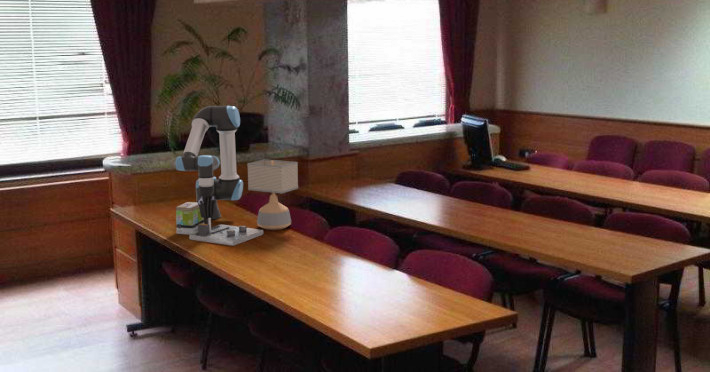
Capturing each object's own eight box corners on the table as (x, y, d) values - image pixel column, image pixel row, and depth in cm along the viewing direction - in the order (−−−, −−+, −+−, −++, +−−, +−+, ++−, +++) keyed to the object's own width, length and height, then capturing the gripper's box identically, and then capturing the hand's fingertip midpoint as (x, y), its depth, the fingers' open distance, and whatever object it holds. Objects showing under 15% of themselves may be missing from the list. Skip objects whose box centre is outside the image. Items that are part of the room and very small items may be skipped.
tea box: (194, 235, 417) (192, 207, 414) (176, 234, 419) (174, 206, 416) (204, 228, 431) (203, 201, 429) (187, 227, 433) (186, 201, 431)
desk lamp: (300, 225, 436) (299, 160, 429) (281, 233, 419) (279, 165, 413) (267, 221, 446) (265, 157, 439) (247, 228, 429) (245, 162, 423)
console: (220, 228, 431) (219, 219, 430) (263, 234, 417) (263, 225, 416) (188, 239, 408) (188, 229, 407) (233, 245, 395) (232, 236, 394)
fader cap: (202, 232, 411) (201, 223, 410) (209, 233, 408) (209, 224, 407) (198, 234, 408) (197, 224, 407) (205, 235, 406) (205, 225, 405)
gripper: (208, 182, 414) (210, 226, 418) (192, 186, 403) (194, 231, 407) (220, 184, 410) (221, 228, 415) (203, 188, 399) (205, 233, 403)
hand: (208, 230), depth 411 cm, fingers closed
